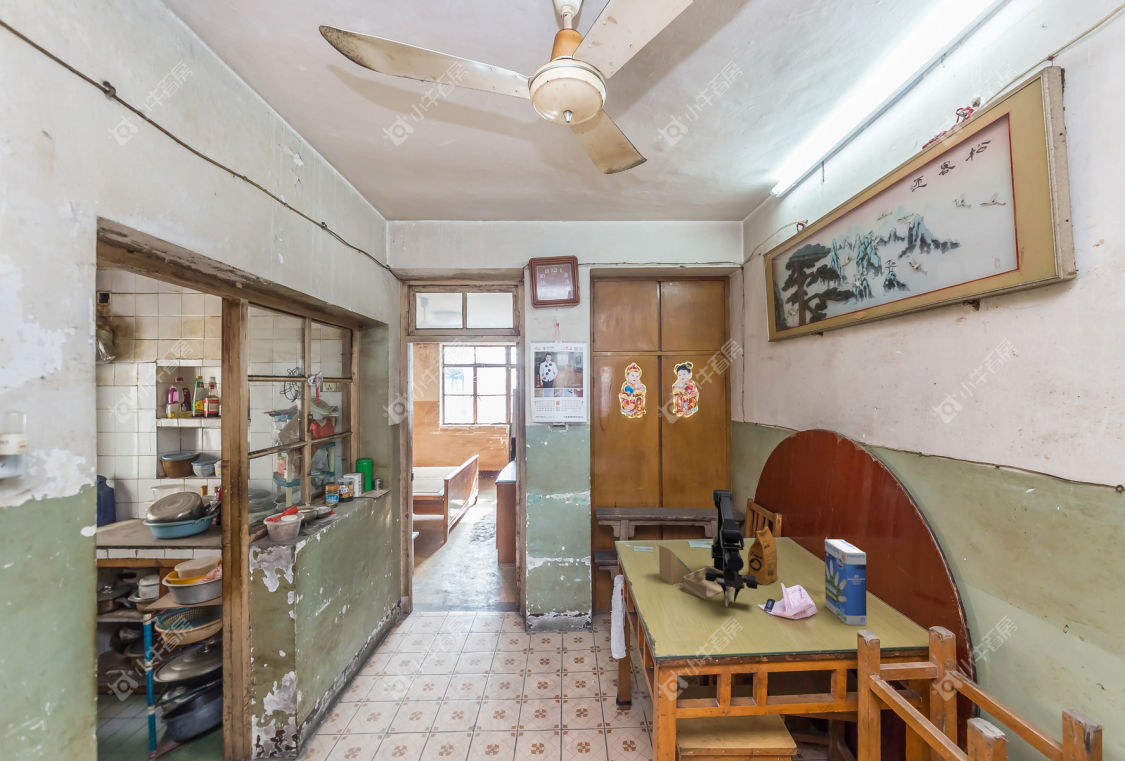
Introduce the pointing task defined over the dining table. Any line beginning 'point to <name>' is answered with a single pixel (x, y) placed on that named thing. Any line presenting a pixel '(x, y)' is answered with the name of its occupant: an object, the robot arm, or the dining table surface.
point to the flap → (728, 595)
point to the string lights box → (845, 581)
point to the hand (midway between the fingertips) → (730, 600)
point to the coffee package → (763, 557)
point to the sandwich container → (671, 566)
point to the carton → (701, 584)
